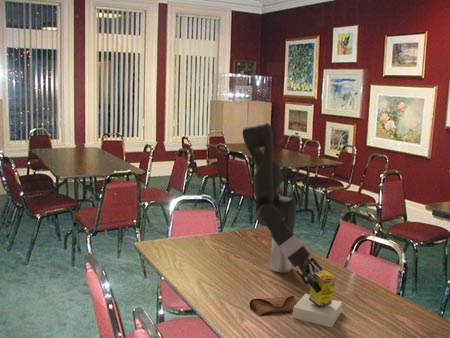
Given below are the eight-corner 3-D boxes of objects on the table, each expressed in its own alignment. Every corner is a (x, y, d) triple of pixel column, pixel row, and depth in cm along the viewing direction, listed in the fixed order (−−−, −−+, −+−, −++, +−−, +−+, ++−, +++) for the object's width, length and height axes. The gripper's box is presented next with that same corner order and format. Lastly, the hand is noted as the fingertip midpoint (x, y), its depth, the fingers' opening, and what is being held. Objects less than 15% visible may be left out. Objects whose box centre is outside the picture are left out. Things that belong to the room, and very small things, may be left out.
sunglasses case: (257, 316, 180) (254, 297, 183) (250, 318, 187) (248, 300, 189) (303, 312, 186) (300, 293, 188) (295, 314, 192) (292, 296, 194)
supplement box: (319, 307, 179) (323, 279, 176) (308, 299, 184) (312, 272, 181) (332, 304, 182) (336, 276, 179) (320, 296, 187) (325, 269, 184)
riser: (304, 303, 193) (305, 293, 193) (341, 312, 187) (342, 301, 186) (292, 317, 181) (293, 307, 180) (331, 327, 175) (332, 316, 174)
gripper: (295, 250, 177) (325, 288, 174) (308, 240, 190) (335, 275, 186) (280, 261, 180) (309, 299, 177) (293, 251, 193) (320, 286, 190)
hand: (322, 287), depth 182 cm, fingers closed on supplement box, 8 cm apart
